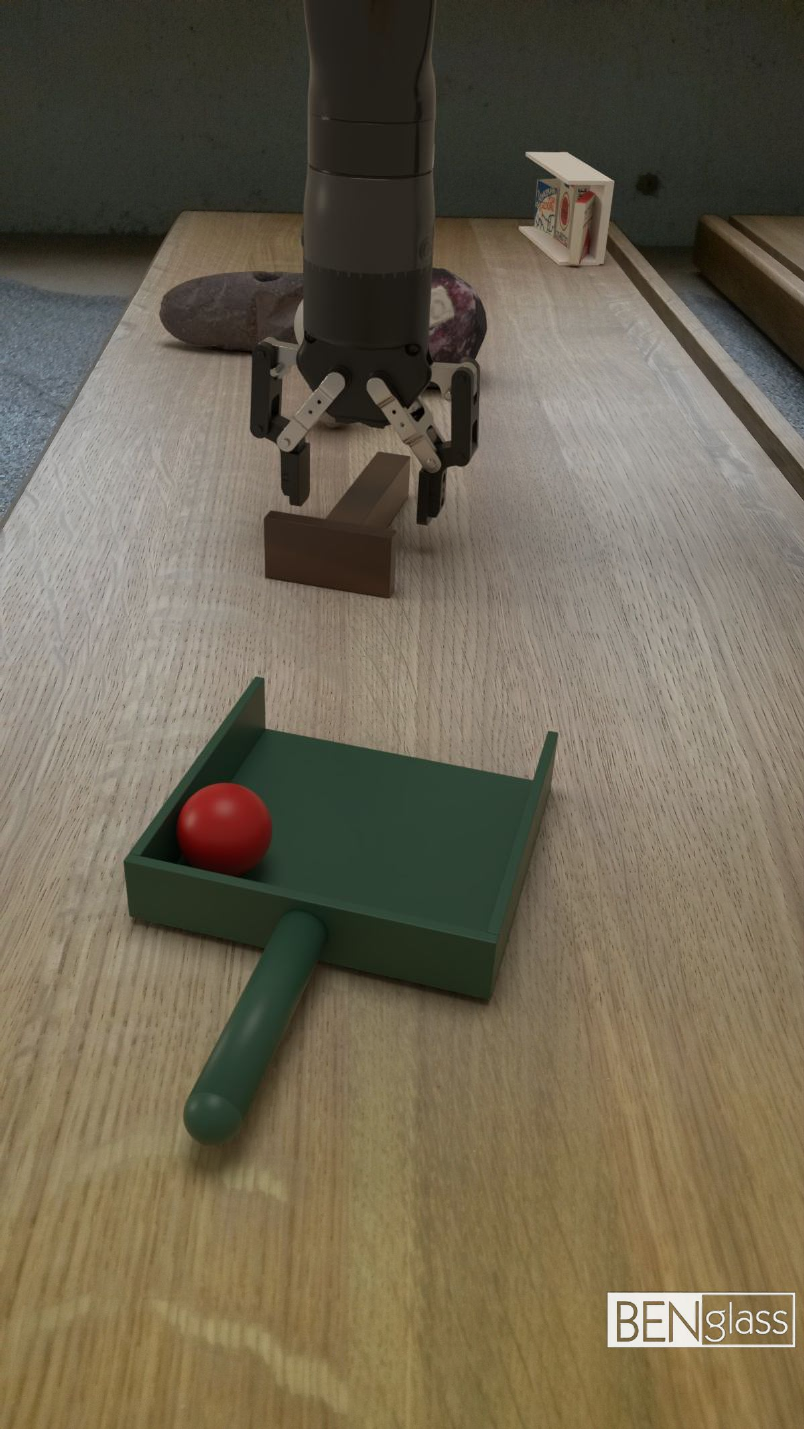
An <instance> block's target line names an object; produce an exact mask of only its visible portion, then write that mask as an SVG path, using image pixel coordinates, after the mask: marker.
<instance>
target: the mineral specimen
mask: <svg viewBox="0 0 804 1429" xmlns="http://www.w3.org/2000/svg"><path fill="white" fill-rule="evenodd" d="M487 332H488V321H487V313H486V309H485V307H484V304H483V302H482V300H481V298H480V295H479V294H478V293H477V291H476V289H475V288H474V287H472V286H471V285H470V284H469V283H468V282H467V281H465V280H464V279H463V278H460V276H458V275H457V274H456V273H453V272H451V271H450V270H448V269H446V268H443V267H433V269H432V288H431V306H430V325H429V342H428V344H429V351H430V354H431V356H432V359H433V361H434V362H438V363H454V364H461V363H462V362H463V361H464V360H465V359H467V358H472V359H474V360H476V359H477V357H478V354H479V352H480V350H481V348H482V345H483V343H484V341H485V338H486V335H487ZM427 388H437V389H440V387H439V386H438V385H437V384H436V383H434V382H431V383H430V384H429V385H428V386H427Z"/></svg>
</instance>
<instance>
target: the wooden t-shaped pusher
mask: <svg viewBox="0 0 804 1429" xmlns="http://www.w3.org/2000/svg"><path fill="white" fill-rule="evenodd" d="M410 474H411V456H410V455H405V454H398V453H391V452H385V451H377V452H376V453H375V454H374V456H373V457H372V459H371V460H370V461H369V462H368V464H367V465H366V466H365V468H363V470H362V471H361V473H359V475H358V477H356V478H355V480H354V482H353V483H352V484H351V485H350V486H349V488H347V490H346V491H345V492H344V494H343V496H341V498H340V499H339V500H338V502H337V503H336V504H335V505H334V507H333V508H332V509H331V511H330V512H329V513H328V515H327V516H326V517H325V518H322V517H316V516H309V515H304V514H303V515H302V514H296V513H290V512H284V511H278V510H277V511H276V510H269V512H267V513H266V515H265V516H264V517H263V542H264V543H263V547H264V549H263V550H264V552H263V553H264V578H267V579H273V580H274V579H275V580H280V581H287V582H292V583H298V584H303V585H310V586H316V587H323V588H328V589H334V590H339V591H340V590H341V591H346V592H350V593H351V592H352V593H357V594H363V595H370V596H375V597H382V598H388V599H389V598H390V597H392V596H391V595H392V594H393V592H394V590H395V584H396V583H395V582H396V563H397V562H396V560H397V542H398V541H397V538H398V530H397V529H393V528H388V527H389V525H390V524H391V522H392V521H393V520H394V518H395V517H396V515H397V514H398V512H399V510H400V509H401V508H402V506H403V504H404V503H405V502H406V500H407V498H408V497H409V496H410V494H409V493H410V477H411V476H410Z"/></svg>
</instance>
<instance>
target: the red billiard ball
mask: <svg viewBox="0 0 804 1429" xmlns="http://www.w3.org/2000/svg"><path fill="white" fill-rule="evenodd" d="M272 833H273V828H272V820H271V816H270V813H269V811H268V809H267V807H266V805H265V804H264V802H263V801H262V800H261V798H260V797H259V796H258V795H256V794H255V793H254V792H253V791H251V790H250V789H248V788H246V787H243V786H241V785H238V784H233V783H217V784H213V785H209V786H207V787H205V788H203V789H201V790H199V791H198V792H196V793H195V794H194V795H192V796H191V797H190V799H189V800H188V801H187V802H186V803H185V805H184V806H183V808H182V810H181V812H180V815H179V818H178V821H177V830H176V834H177V841H178V845H179V848H180V850H181V852H182V854H183V856H184V858H185V859H186V860H187V861H188V863H189V864H190V865H191V866H192V867H193V868H196V869H201V870H205V871H210V872H214V873H219V874H224V875H228V876H233V877H237V876H240V875H243V874H245V873H247V872H249V871H250V870H252V869H253V868H254V867H256V866H257V865H258V864H259V863H260V862H261V861H262V859H263V858H264V857H265V855H266V853H267V851H268V849H269V847H270V844H271V840H272Z"/></svg>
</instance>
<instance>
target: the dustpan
mask: <svg viewBox="0 0 804 1429" xmlns="http://www.w3.org/2000/svg"><path fill="white" fill-rule="evenodd" d="M265 684H266V683H265V678H264V677H262V676H254V677H253V679H252V681H251V682H250V683H249V685H248V686H247V687H246V689H245V691H244V692H243V693H242V694H241V696H240V697H239V698H238V700H237V701H236V703H235V704H234V705H233V707H232V709H230V711H229V712H228V714H227V715H226V717H225V718H224V720H223V721H222V722H221V724H220V725H219V727H218V728H217V729H216V731H215V732H214V734H213V735H212V736H211V738H210V739H209V740H208V742H207V743H206V744H205V746H204V747H203V749H202V750H201V752H199V753H198V756H197V757H196V759H195V760H194V761H193V762H192V764H191V765H190V767H189V769H188V770H187V771H186V773H185V774H184V775H183V776H182V778H181V780H180V781H179V782H178V783H177V785H176V787H175V788H174V789H173V791H172V792H171V794H170V795H169V796H168V797H167V799H166V800H165V802H164V803H163V804H162V806H161V807H160V809H159V810H158V812H157V813H156V815H155V816H154V817H153V818H152V820H151V821H150V823H149V824H148V826H147V827H146V828H145V830H144V831H143V833H142V834H141V835H140V837H139V838H138V839H137V841H136V842H135V844H134V845H133V846H132V848H131V849H130V851H129V852H128V854H127V855H126V856H125V858H123V871H124V880H125V889H126V890H125V891H126V899H127V907H128V916H129V918H134V919H137V920H143V921H146V922H149V923H150V922H151V923H155V924H160V925H164V926H168V927H172V928H177V929H181V930H187V931H190V932H195V933H199V934H203V935H207V936H211V937H216V938H221V939H224V940H227V941H228V940H229V941H233V942H238V943H242V944H246V945H250V946H255V947H258V948H263V949H264V950H263V952H262V954H261V956H260V958H259V960H258V961H257V964H256V965H255V967H254V969H253V970H252V973H251V975H250V978H249V979H248V981H247V983H246V985H245V986H244V989H243V990H242V992H241V994H240V996H239V998H238V1000H237V1002H236V1004H235V1006H234V1008H233V1010H232V1012H231V1014H230V1015H229V1018H228V1020H227V1021H226V1023H225V1025H224V1027H223V1029H222V1031H221V1033H220V1035H219V1037H218V1039H217V1041H216V1043H215V1044H214V1046H213V1049H212V1050H211V1051H210V1052H211V1053H210V1054H209V1056H208V1057H207V1060H206V1062H205V1063H204V1065H203V1067H202V1069H201V1072H200V1074H199V1075H198V1077H197V1080H196V1081H195V1083H194V1085H193V1087H192V1088H191V1091H190V1092H189V1095H188V1097H187V1098H186V1100H185V1104H184V1107H183V1112H182V1120H183V1125H184V1128H185V1130H186V1132H187V1133H188V1135H189V1136H190V1137H191V1138H192V1139H193V1140H194V1141H195V1142H197V1143H198V1144H201V1145H203V1146H207V1147H217V1146H221V1145H224V1144H226V1143H228V1142H230V1141H232V1140H233V1139H234V1138H235V1136H237V1135H238V1134H239V1132H240V1130H241V1129H242V1128H243V1124H244V1123H245V1122H246V1121H245V1120H246V1118H247V1117H248V1114H249V1112H250V1109H251V1108H252V1105H253V1103H254V1101H255V1100H256V1096H257V1094H258V1093H259V1090H260V1088H261V1086H262V1083H263V1082H264V1079H265V1077H266V1075H267V1073H268V1070H269V1068H270V1067H271V1064H272V1062H273V1060H274V1058H275V1056H276V1053H277V1051H278V1049H279V1047H280V1045H281V1042H282V1040H283V1037H284V1036H285V1033H286V1031H287V1030H288V1027H289V1026H290V1022H291V1021H292V1018H293V1016H294V1014H295V1012H296V1009H297V1008H298V1006H299V1004H300V1001H301V999H302V997H303V995H304V992H305V990H306V988H307V986H308V984H309V981H310V979H311V977H312V975H313V973H314V970H315V968H316V966H317V964H318V962H319V961H320V962H325V963H328V964H333V965H337V966H342V967H345V968H350V969H354V970H359V971H363V972H368V973H372V974H375V975H381V976H385V977H389V978H393V979H398V980H401V981H402V980H403V981H405V982H411V983H415V984H419V985H424V986H428V987H433V988H435V989H441V990H445V991H450V992H453V993H458V994H463V995H467V996H471V997H475V998H479V999H484V1000H489V1001H490V1000H491V998H492V997H493V994H494V990H495V987H496V984H497V981H498V978H499V977H498V976H499V974H500V969H501V967H502V963H503V959H504V955H505V953H506V952H505V951H506V948H507V944H508V941H509V938H510V934H511V931H512V927H513V923H514V920H515V917H516V912H517V909H518V905H519V902H520V899H521V896H522V892H523V888H524V885H525V882H526V879H527V878H526V877H527V874H528V871H529V867H530V864H531V860H532V857H533V853H534V849H535V846H536V842H537V838H538V835H539V832H540V828H541V824H542V821H543V818H544V814H545V810H546V807H547V804H548V800H549V796H550V793H551V790H552V781H553V777H554V776H553V775H554V768H555V763H556V762H555V761H556V755H557V747H558V739H559V732H558V731H552V730H547V733H546V736H545V740H544V742H543V746H542V748H541V753H540V756H539V759H538V761H537V765H536V769H535V772H534V776H533V779H529V778H523V777H518V776H513V775H507V774H504V773H498V772H493V771H487V770H482V769H477V768H473V767H472V768H471V767H466V766H463V765H462V766H461V765H456V764H452V763H446V762H441V761H436V760H430V759H424V758H420V757H415V756H409V755H405V754H399V753H395V752H389V751H384V750H379V749H375V748H374V749H373V748H368V747H363V746H358V745H353V744H348V743H342V742H337V741H332V740H327V739H323V738H317V737H312V736H307V735H303V734H302V735H301V734H296V733H291V732H286V731H282V730H281V731H280V730H275V729H271V728H267V726H266V725H267V724H266V685H265ZM217 783H233V784H238V785H241V786H243V787H246V788H248V789H250V790H251V791H253V792H254V793H255V794H256V795H258V796H259V797H260V798H261V800H262V801H263V802H264V804H265V805H266V807H267V809H268V811H269V813H270V816H271V820H272V828H273V833H272V840H271V844H270V847H269V849H268V851H267V853H266V855H265V857H264V858H263V859H262V861H261V862H260V863H259V864H258V865H257V866H256V867H254V868H253V869H252V870H250V871H249V872H247V873H245V874H243V875H240V876H237V877H233V876H228V875H224V874H219V873H214V872H210V871H205V870H201V869H196V868H193V867H192V866H191V865H190V864H189V863H188V861H187V860H186V859H185V858H184V856H183V854H182V852H181V850H180V848H179V845H178V841H177V834H176V830H177V821H178V818H179V815H180V812H181V810H182V808H183V806H184V805H185V803H186V802H187V801H188V800H189V799H190V797H191V796H192V795H194V794H195V793H196V792H198V791H199V790H201V789H203V788H205V787H207V786H209V785H213V784H217Z"/></svg>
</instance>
